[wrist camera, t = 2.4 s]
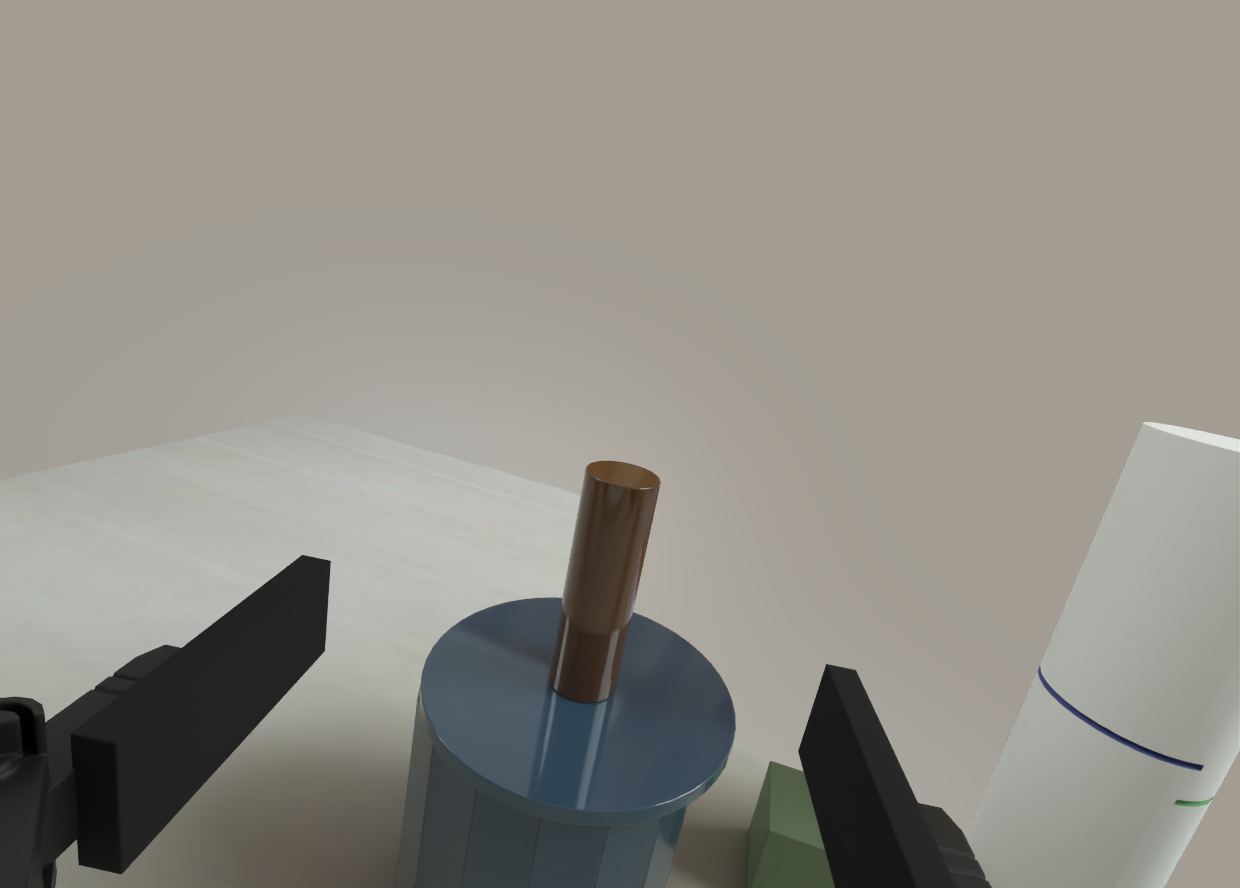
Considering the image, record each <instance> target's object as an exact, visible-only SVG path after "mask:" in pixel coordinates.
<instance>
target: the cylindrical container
mask: <svg viewBox="0 0 1240 888" xmlns="http://www.w3.org/2000/svg"><path fill="white" fill-rule="evenodd" d="M1239 750H1240V440H1239V439H1234V438H1230V437H1226V436H1221V435H1216V434H1212V433H1207V432H1202V431H1198V430H1193V429H1187V428H1183V427H1177V426H1172V425H1166V424H1160V423H1153V422H1144V423H1143V425H1142V428H1141V430H1140V432H1139V434H1138V437H1137V439H1136V441H1135V444H1134V446H1133V448H1132V451H1131V453H1130V455H1129V458H1128V460H1127V462H1126V465H1125V467H1124V470H1123V472H1122V474H1121V476H1120V479H1119V481H1118V483H1117V486H1116V488H1115V491H1114V493H1113V495H1112V497H1111V500H1110V502H1109V504H1108V507H1107V509H1106V512H1105V514H1104V516H1103V519H1102V521H1101V523H1100V525H1099V528H1098V530H1097V532H1096V535H1095V537H1094V539H1093V542H1092V544H1091V546H1090V549H1089V551H1088V553H1087V556H1086V558H1085V561H1084V563H1083V565H1082V568H1081V570H1080V572H1079V575H1078V577H1077V579H1076V582H1075V584H1074V586H1073V589H1072V591H1071V594H1070V596H1069V598H1068V601H1067V603H1066V605H1065V608H1064V610H1063V612H1062V615H1061V617H1060V619H1059V622H1058V624H1057V626H1056V629H1055V631H1054V633H1053V636H1052V638H1051V640H1050V643H1049V645H1048V648H1047V650H1046V652H1045V655H1044V657H1043V659H1042V662H1041V665H1040V667H1039V669H1038V671H1037V674H1036V676H1035V678H1034V680H1033V683H1032V685H1031V687H1030V690H1029V692H1028V694H1027V697H1026V699H1025V701H1024V704H1023V706H1022V708H1021V711H1020V713H1019V715H1018V718H1017V720H1016V723H1015V725H1014V727H1013V729H1012V732H1011V734H1010V737H1009V739H1008V741H1007V744H1006V746H1005V748H1004V750H1003V753H1002V755H1001V758H1000V760H999V762H998V764H997V767H996V769H995V772H994V774H993V776H992V778H991V781H990V783H989V786H988V788H987V790H986V793H985V795H984V797H983V800H982V802H981V804H980V807H979V809H978V812H977V814H976V816H975V818H974V821H973V823H972V826H971V828H970V830H969V833H968V835H967V837H966V839H967V841H968V843H969V845H970V847H971V849H972V851H973V853H974V855H975V860H978V862H979V864H980V866H981V868H982V870H983V872H984V874H985V879H986V881H989V883H990V885H991V887H992V888H1164V886H1165V884H1166V882H1167V881H1168V879H1169V877H1170V875H1171V873H1172V872H1173V870H1174V868H1175V866H1176V864H1177V863H1178V861H1179V859H1180V857H1181V855H1182V854H1183V852H1184V850H1185V848H1186V846H1187V844H1188V842H1189V841H1190V839H1191V837H1192V835H1193V834H1194V832H1195V830H1196V828H1197V826H1198V825H1199V823H1200V821H1201V819H1202V817H1203V815H1204V814H1205V812H1206V810H1207V808H1208V807H1209V805H1210V803H1211V801H1212V799H1213V796H1214V795H1215V794H1216V792H1217V790H1218V788H1219V786H1220V785H1221V783H1222V781H1223V779H1224V778H1225V776H1226V774H1227V772H1228V770H1229V768H1230V767H1231V765H1232V763H1233V761H1234V759H1235V758H1236V756H1237V754H1238V752H1239Z"/></svg>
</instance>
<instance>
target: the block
mask: <svg viewBox="0 0 1240 888" xmlns="http://www.w3.org/2000/svg"><path fill="white" fill-rule="evenodd" d="M746 888H835V886H834V882H833V878H832V875H831V871H830V867H829V864H828V860H827V856H826V852H825V849H824V845H823V841H822V838H821V834H820V830H819V826H818V823H817V819H816V815H815V811H814V808H813V804H812V800H811V797H810V793H809V789H808V785H807V782H806V778H805V774H804V772H803V771H800V770H797V769H794V768H791V767H788V766H785V765H781V764H779V763H776V762H772V761H771V762H770V763H769V766H768V770H767V773H766V776H765V779H764V783H763V786H762V789H761V792H760V796H759V799H758V802H757V805H756V809H755V812H754V815H753V818H752V822H751V825H750V831H749V848H748V865H747V882H746Z"/></svg>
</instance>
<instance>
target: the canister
mask: <svg viewBox="0 0 1240 888" xmlns="http://www.w3.org/2000/svg"><path fill="white" fill-rule="evenodd" d="M419 695H420V689H419V693H418V698H417V707H416V715H415V724H414V733H413V741H412V750H411V759H410V768H409V776H408V785H407V794H406V802H405V811H404V820H403V828H402V837H401V846H400V855H399V863H398V872H397V881H396V888H665V886H666V882H667V879H668V875H669V871H670V867H671V864H672V860H673V856H674V853H675V849H676V845H677V841H678V838H679V834H680V830H681V827H682V823H683V819H684V815H685V812H686V808H687V806H685V807H683V808H681V809H679V810H677V811H675V812H673V813H671V814H668V815H664V816H661V817H658V818H655V819H652V820H649V821H644V822H638V823H633V824H628V825H614V826H588V825H574V824H568V823H562V822H556V821H551V820H547V819H543V818H540V817H536V816H533V815H530V814H526V813H523V812H521V811H518V810H516V809H514V808H511V807H509V806H507V805H504V804H502V803H500V802H498V801H496V800H495V799H493V798H491V797H489V796H487V795H486V794H484V793H482V792H480V791H479V790H478V789H476V788H475V787H474V786H472V785H471V784H469V783H468V782H467V781H465V780H464V779H463V778H461V777H460V776H459V775H458V774H457V773H456V772H455V771H454V770H453V769H452V768H451V767H450V766H449V765H448V764H447V763H446V762H445V760H444V759H443V758H442V756H441V755H440V754H439V752H438V751H437V750H436V748H435V747H434V745H433V743H432V741H431V739H430V737H429V736H428V734H427V732H426V729H425V726H424V723H423V720H422V716H421V712H420V702H419Z"/></svg>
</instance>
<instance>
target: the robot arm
mask: <svg viewBox="0 0 1240 888" xmlns="http://www.w3.org/2000/svg"><path fill="white" fill-rule="evenodd" d="M330 564H331V561H329V560H324V559H319V558H314V557H309V556H305V555H302V556H300V557H299V558H298V559H297V560H295V561H294V562H293V563H291V564H290V565H289V566H287V567H286V568H285V569H284V570H282V571H281V572H280V573H278V574H277V575H276V576H274V577H273V578H272V579H271V580H269V581H268V582H267V583H265V584H264V585H263V586H262V587H260V588H259V589H258V590H256V591H255V592H254V593H252V594H251V595H250V596H249V597H247V598H246V599H245V600H243V601H242V602H241V603H239V604H238V605H237V606H236V607H234V608H233V609H232V610H230V611H229V612H228V613H226V614H225V615H224V616H223V617H221V618H220V619H219V620H217V621H216V622H215V623H213V624H212V625H211V626H210V627H208V628H207V629H206V630H204V631H203V632H202V633H200V634H199V635H198V636H197V637H195V638H194V639H193V640H191V641H190V642H189V643H187V644H186V645H185V646H184V647H182V648H179V647H174V646H169V645H163V646H161V647H159V648H156V649H154V650H152V651H149V652H147V653H144V654H142V655H140V656H137V657H136V658H134V659H133V660H131V661H130V662H129V663H127V664H126V665H125V666H123V667H122V668H120V669H119V670H118V671H116V672H115V673H114V675H113V676H112V677H111V676H109V677H108V678H107V679H105V680H104V681H102V682H101V683H100V684H98V685H97V686H96V687H95V689H94V690H90V691H89V692H87V693H86V694H84V695H83V696H82V697H80V698H79V699H77V700H76V701H75V702H73V703H72V704H71V705H69V706H68V707H66V708H65V709H64V710H62V711H61V712H59V713H58V714H57V715H55V716H54V717H52V718H51V719H50V720H48V721H47V722H46V723H45V716H44V710H43V707H42V704H40V703H38V702H37V701H35V700H33V699H30V698H22V697H8V698H0V888H55V884H56V875H57V869H56V858H57V857H59V856H60V855H61V854H62V853H63V852H64V851H65V850H66V849H67V848H68V847H69V846H70V845H71V844H72V843H73V842H74V841H75V840H76V839H77V844H78V860H79V865H82V866H86V867H91V868H95V869H100V870H104V871H109V872H113V873H118V874H122V873H123V872H124V871H125V870H126V869H127V868H128V867H129V866H130V865H131V863H132V862H133V861H134V860H135V859H136V858H137V857H138V856H139V855H140V854H141V852H142V851H143V850H144V849H145V848H146V847H147V846H148V845H149V844H150V843H151V841H152V840H153V839H154V838H155V837H156V836H157V835H158V834H159V833H160V832H161V830H162V829H163V828H164V827H165V826H166V825H167V824H168V823H169V822H170V821H171V819H172V818H173V817H174V816H175V815H176V814H177V813H178V812H179V811H180V810H181V809H182V807H183V806H184V805H185V804H186V803H187V802H188V801H189V800H190V799H191V798H192V796H193V795H194V794H195V793H196V792H197V791H198V790H199V789H200V788H201V787H202V785H203V784H204V783H205V782H206V781H207V780H208V779H209V778H210V777H211V776H212V774H213V773H214V772H215V771H216V770H217V769H218V768H219V767H220V766H221V765H222V763H223V762H224V761H225V760H226V759H227V758H228V757H229V756H230V755H231V754H232V752H233V751H234V750H235V749H236V748H237V747H238V746H239V745H240V744H241V743H242V741H243V740H244V739H245V738H246V737H247V736H248V735H249V734H250V733H251V732H252V730H253V729H254V728H255V727H256V726H257V725H258V724H259V723H260V722H261V721H262V720H263V718H264V717H265V716H266V715H267V714H268V713H269V712H270V711H271V710H272V709H273V707H274V706H275V705H276V704H277V703H278V702H279V701H280V700H281V699H282V698H283V696H284V695H285V694H286V693H287V692H288V691H289V690H290V689H291V688H292V687H293V685H294V684H295V683H296V682H297V681H298V680H299V679H300V678H301V677H302V676H303V674H304V673H305V672H306V671H307V670H308V669H309V668H310V667H311V666H312V665H313V663H314V662H315V661H316V660H317V659H318V658H319V657H320V656H321V655H322V654H323V652H324V651H325V640H326V625H327V610H328V594H329V579H330ZM798 752H799V756H800V759H801V763H802V767H803V771H804V774H805V778H806V782H807V785H808V789H809V793H810V797H811V800H812V804H813V808H814V811H815V815H816V819H817V823H818V826H819V830H820V834H821V838H822V841H823V845H824V849H825V852H826V856H827V860H828V864H829V867H830V871H831V875H832V878H833V882H834V886H835V888H992V887H991V885H990V883H989V881H986V879H985V874H984V872H983V870H982V868H981V866H980V864H979V862H978V860H975V855H974V853H973V851H972V849H971V847H970V845H969V843H968V841H967V839H966V838H965V836H964V834H963V832H962V830H961V829H960V828H959V827H958V826H957V825H956V824H955V823H954V822H953V821H952V819H951V818H950V817H949V816H948V815H947V814H946V813H945V812H944V811H943V810H942V808H939V807H934V806H929V805H925V804H920V803H918V802H917V800H916V798H915V796H914V793H913V791H912V789H911V787H910V785H909V783H908V781H907V779H906V776H905V774H904V772H903V770H902V768H901V766H900V764H899V762H898V759H897V757H896V755H895V753H894V751H893V749H892V746H891V744H890V742H889V740H888V738H887V736H886V734H885V731H884V729H883V727H882V725H881V723H880V721H879V719H878V717H877V714H876V712H875V710H874V708H873V706H872V704H871V702H870V700H869V697H868V695H867V693H866V691H865V689H864V687H863V685H862V682H861V681H860V678H859V676H858V674H857V672H856V670H852V669H848V668H843V667H838V666H833V665H828V664H826V667H825V670H824V673H823V676H822V679H821V682H820V686H819V689H818V692H817V695H816V698H815V701H814V704H813V707H812V710H811V714H810V717H809V720H808V723H807V726H806V729H805V732H804V735H803V738H802V742H801V744H800V748H799V751H798Z"/></svg>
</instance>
